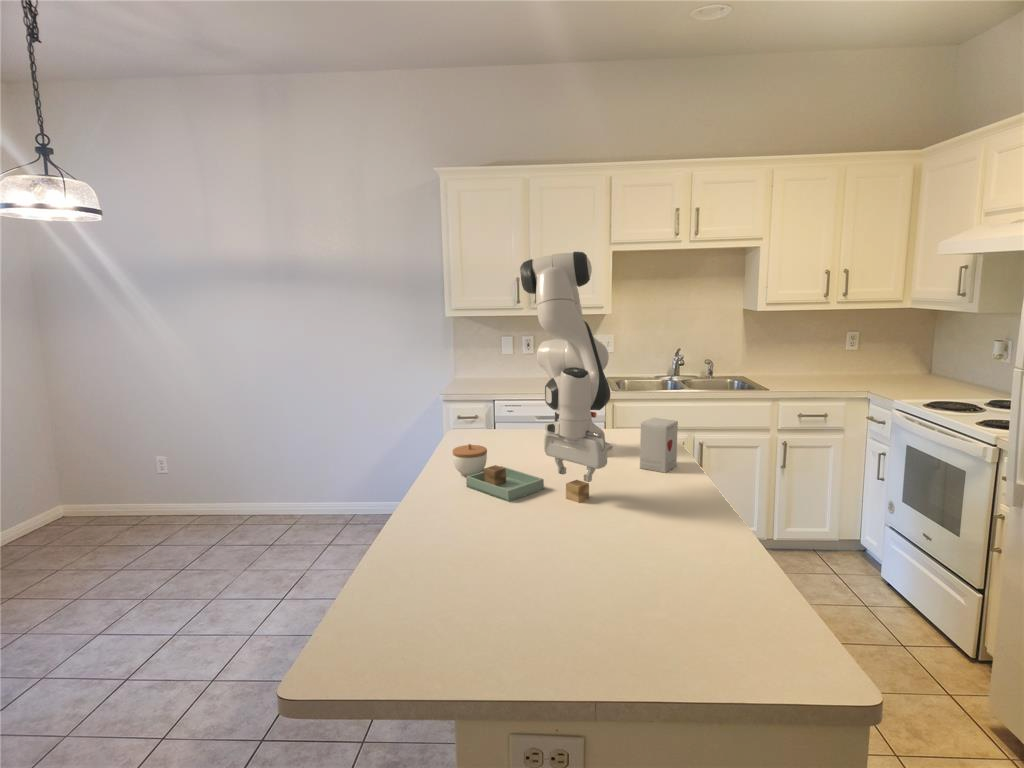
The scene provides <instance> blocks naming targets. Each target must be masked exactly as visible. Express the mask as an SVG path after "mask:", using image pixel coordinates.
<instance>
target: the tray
mask: <svg viewBox="0 0 1024 768" xmlns="http://www.w3.org/2000/svg"><path fill="white" fill-rule="evenodd" d="M500 467H503V468H506V483H504V484H501V485H498V486H496V485H493V484H490V483H487V482H485V478H484V471H483V470H482V471H481V472H480V473H477V474H473V475H470V476H465V477H466V478H465V479H466V481H465V482H466V488H469V489H472V490H475V491H477V492H480V493H484V494H485V495H489V496H492V497H494V498H497V499H500V500H503V501H505V502H508V503H510V502H512V501H514V500H517V499H520V498H523V497H526V496H529V495H531V494H535V493H537V492H540V491H543V490H544V489H545V488H544V487H545V486H544V485H545V483H544V478H541V477H538V476H535V475H533V474H529V473H525V472H523V471H519V470H515V469H513V468H509V467H506V466H502V465H500Z"/></svg>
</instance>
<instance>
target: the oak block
mask: <svg viewBox="0 0 1024 768" xmlns="http://www.w3.org/2000/svg"><path fill="white" fill-rule="evenodd" d="M589 499H590V482H586V481H584V480H583V481H582V480H579V479H575V480H571V481H569V482H566V483H565V500H569V501H572V502H575V503H578V504H579V503H581V502H584V501H587V500H589Z"/></svg>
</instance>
